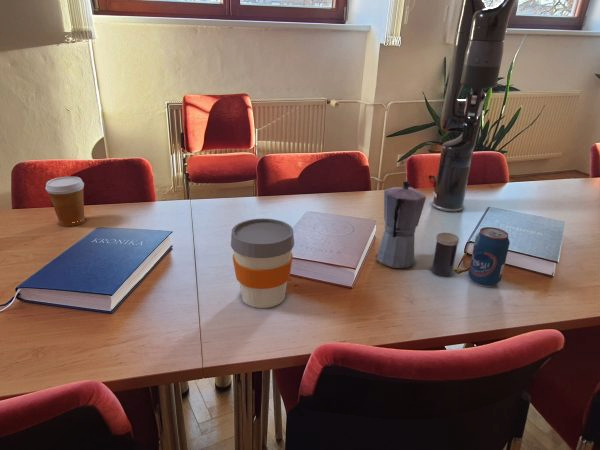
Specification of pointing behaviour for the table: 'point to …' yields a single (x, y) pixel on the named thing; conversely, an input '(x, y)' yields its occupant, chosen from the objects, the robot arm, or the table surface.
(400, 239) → the moka pot
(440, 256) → the pepper shaker
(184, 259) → the table surface
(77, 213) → the disposable coffee cup
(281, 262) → the reusable coffee cup
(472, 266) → the soda can
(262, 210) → the table surface
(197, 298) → the table surface
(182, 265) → the table surface
